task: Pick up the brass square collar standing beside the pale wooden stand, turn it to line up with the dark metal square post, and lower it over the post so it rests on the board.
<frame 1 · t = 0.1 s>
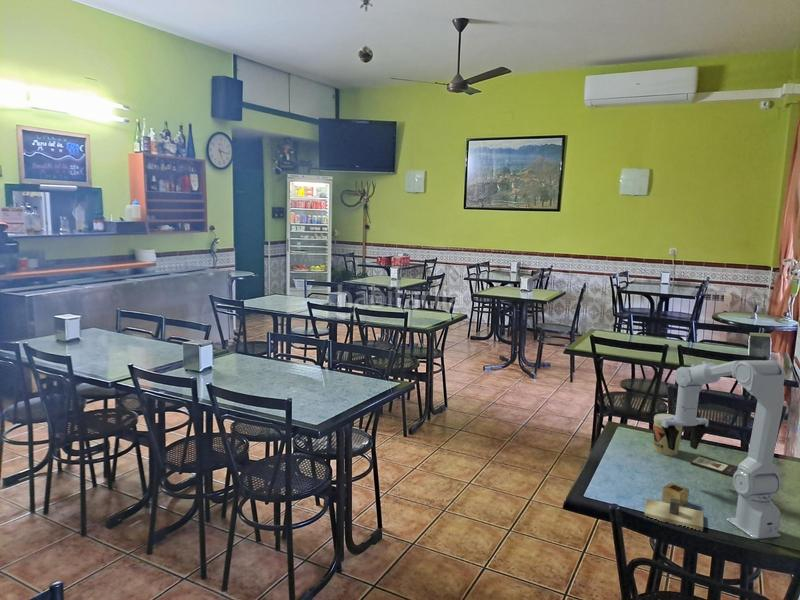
hand: (682, 448, 177), 10 cm above the table, tool pointing down, fingers open, 7 cm apart
collar: (674, 501, 164), on the table
chocolate bar: (724, 471, 187), on the table
coffee cup: (665, 451, 200), on the table
post stand: (673, 516, 156), on the table
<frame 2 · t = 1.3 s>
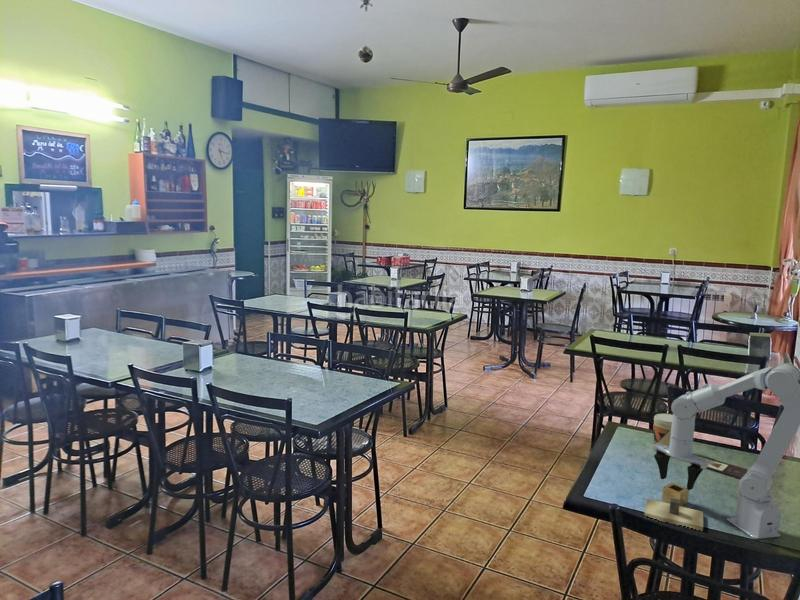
hand: (676, 483, 164), 5 cm above the table, tool pointing down, fingers open, 7 cm apart
nothing on the table moved.
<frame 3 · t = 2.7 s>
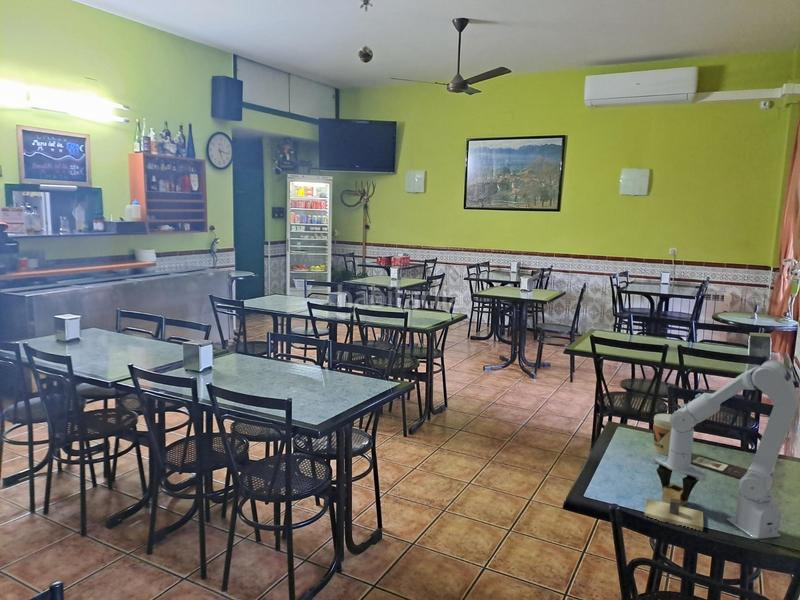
hand: (675, 496, 164), 2 cm above the table, tool pointing down, fingers closed on collar, 5 cm apart
collar: (674, 501, 164), on the table, touching gripper
everything else where it was.
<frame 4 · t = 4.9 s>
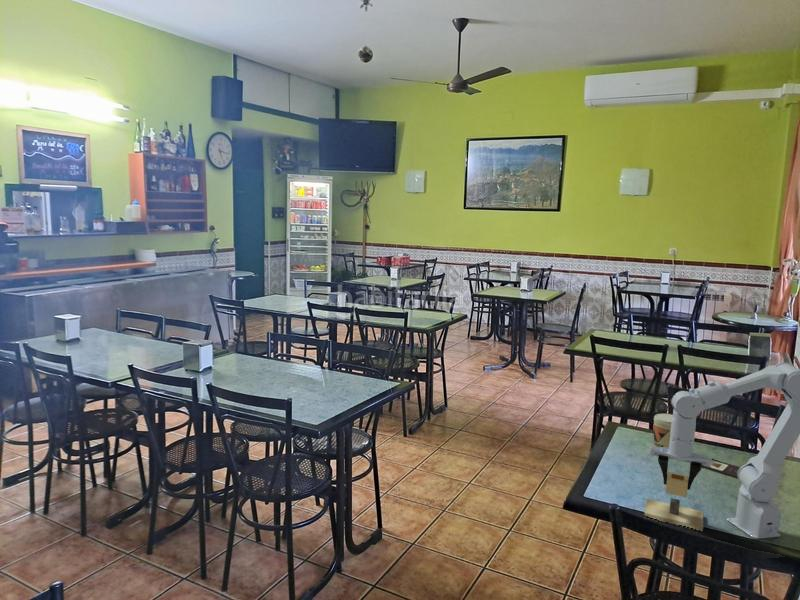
hand: (676, 485, 155), 9 cm above the table, tool pointing down, fingers closed on collar, 5 cm apart
collar: (676, 491, 155), point 7 cm above the table, touching gripper
everything else where it was.
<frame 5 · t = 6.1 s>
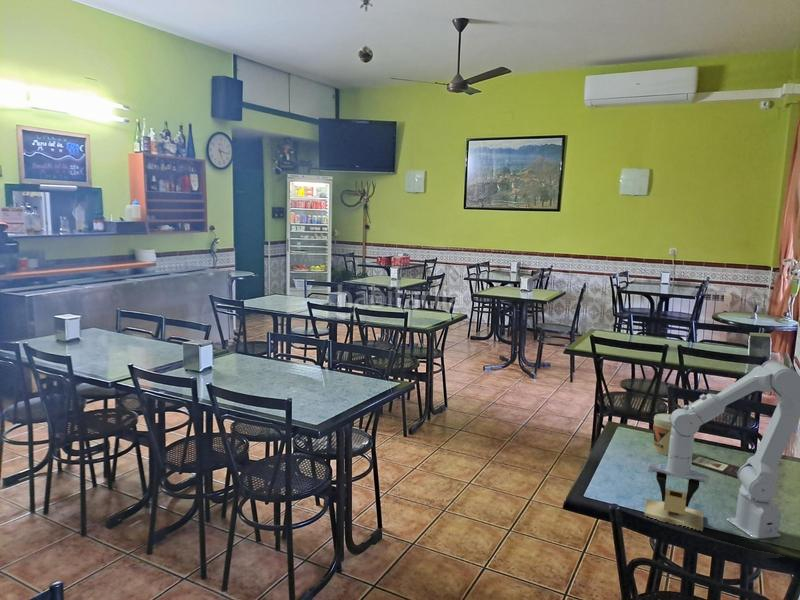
hand: (675, 502, 155), 4 cm above the table, tool pointing down, fingers closed on collar, 5 cm apart
collar: (674, 508, 156), point 2 cm above the table, touching gripper
everything else where it was.
when the fingers open (4 cm above the table, at t = 7.2 s): collar drops 1 cm, resting on post stand.
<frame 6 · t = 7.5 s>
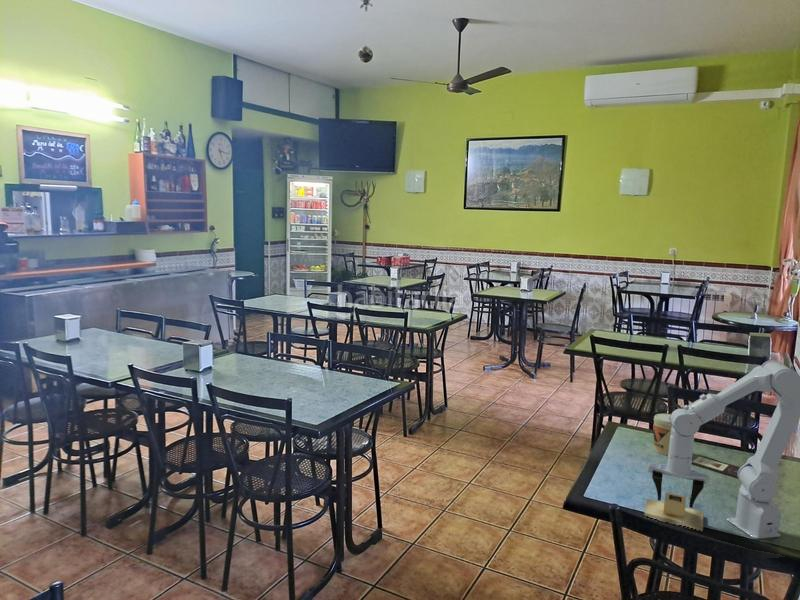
hand: (675, 502, 155), 4 cm above the table, tool pointing down, fingers open, 7 cm apart
collar: (673, 512, 156), point 1 cm above the table, touching post stand
everything else where it was.
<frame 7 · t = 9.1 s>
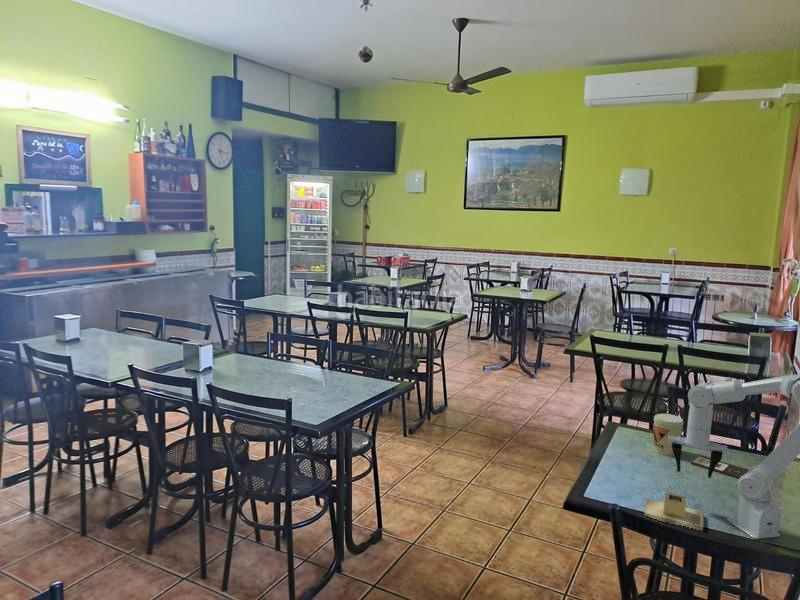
hand: (693, 473, 161), 9 cm above the table, tool pointing down, fingers open, 7 cm apart
nothing on the table moved.
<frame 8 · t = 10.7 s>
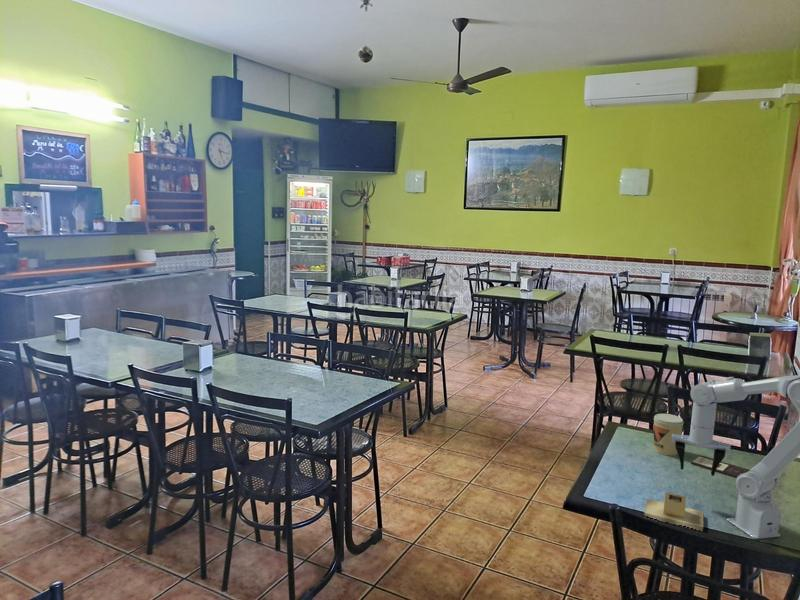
hand: (697, 471, 163), 9 cm above the table, tool pointing down, fingers open, 7 cm apart
nothing on the table moved.
at the end: collar 0.1 cm from the post stand (horizontally); collar point 1.2 cm above the table; the gripper is holding nothing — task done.
